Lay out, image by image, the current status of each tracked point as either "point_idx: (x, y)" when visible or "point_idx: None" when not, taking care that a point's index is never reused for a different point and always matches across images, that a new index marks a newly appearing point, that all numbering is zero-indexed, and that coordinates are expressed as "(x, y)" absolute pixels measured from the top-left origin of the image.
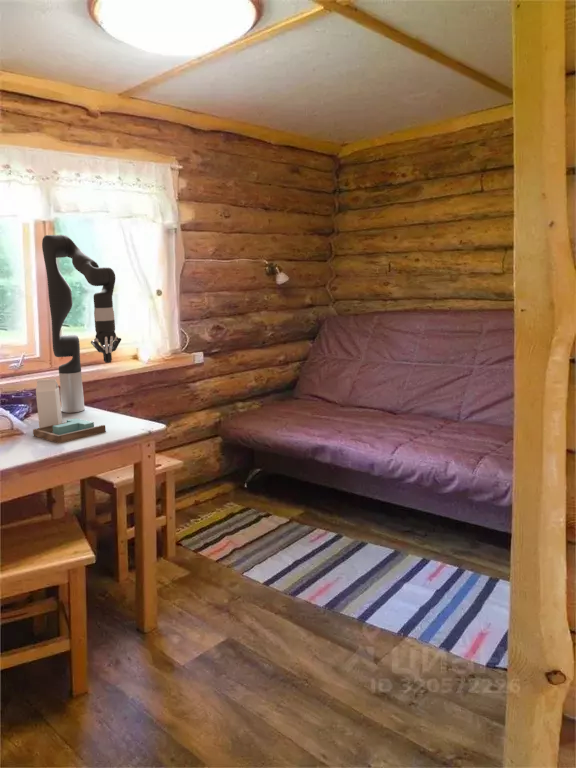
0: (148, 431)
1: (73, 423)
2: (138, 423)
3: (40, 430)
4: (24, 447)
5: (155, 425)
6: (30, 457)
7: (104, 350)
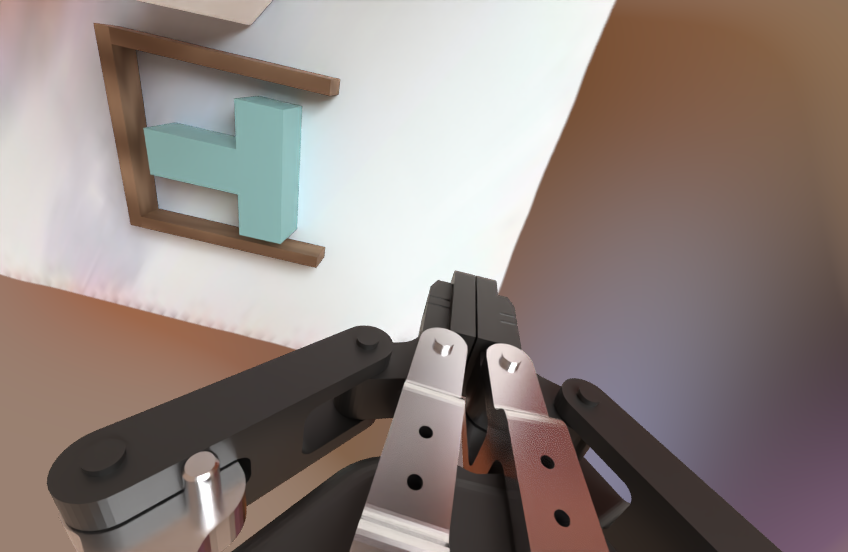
0: None
1: (221, 182)
2: None
3: (113, 80)
4: (45, 146)
5: None
6: (35, 253)
7: (395, 410)
